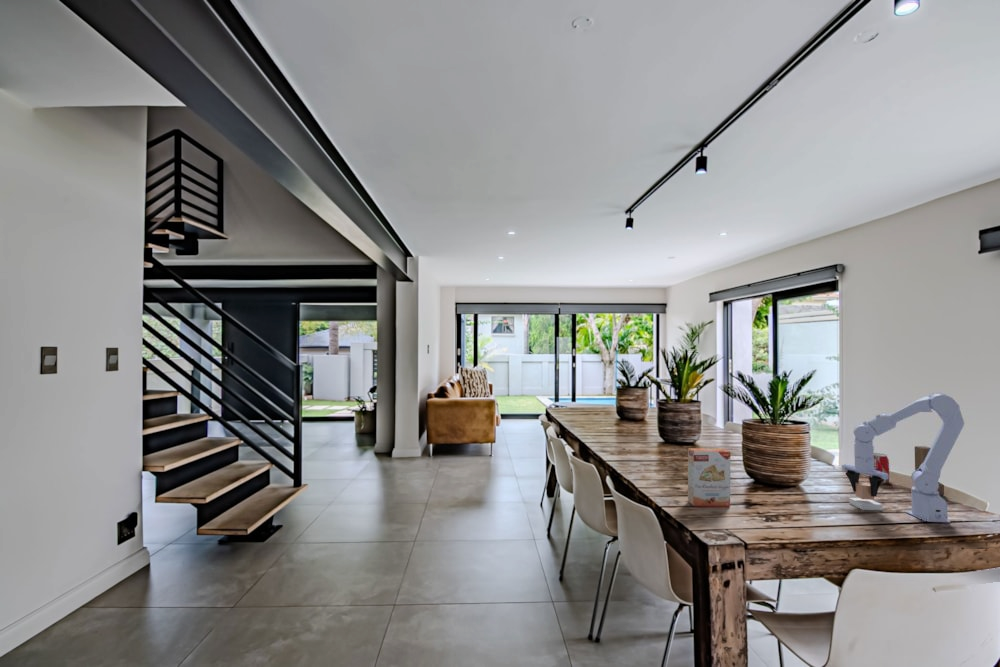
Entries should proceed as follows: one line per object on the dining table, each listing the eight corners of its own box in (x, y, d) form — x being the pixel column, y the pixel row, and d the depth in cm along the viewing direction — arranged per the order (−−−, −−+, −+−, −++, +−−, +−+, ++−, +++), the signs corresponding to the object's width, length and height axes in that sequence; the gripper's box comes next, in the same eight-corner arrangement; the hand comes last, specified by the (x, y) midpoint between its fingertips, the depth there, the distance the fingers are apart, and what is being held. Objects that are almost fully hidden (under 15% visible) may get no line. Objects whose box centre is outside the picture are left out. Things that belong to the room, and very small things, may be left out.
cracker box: (694, 507, 173) (693, 451, 173) (687, 501, 179) (687, 447, 180) (731, 507, 173) (730, 451, 173) (723, 501, 179) (723, 447, 179)
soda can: (890, 484, 201) (889, 457, 201) (869, 481, 205) (868, 454, 206) (889, 481, 207) (888, 454, 207) (868, 478, 211) (868, 451, 211)
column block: (874, 499, 171) (873, 486, 171) (862, 499, 172) (862, 485, 172) (867, 496, 175) (866, 483, 175) (855, 495, 176) (855, 482, 176)
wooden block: (944, 495, 186) (943, 451, 187) (932, 495, 187) (931, 450, 187) (926, 488, 195) (925, 446, 196) (914, 488, 196) (914, 445, 196)
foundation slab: (882, 511, 170) (882, 504, 170) (861, 510, 171) (861, 504, 171) (868, 504, 177) (868, 498, 177) (849, 504, 178) (849, 497, 178)
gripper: (892, 460, 169) (893, 498, 169) (849, 452, 182) (850, 486, 182) (881, 462, 166) (882, 500, 166) (838, 453, 179) (839, 489, 179)
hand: (864, 493), depth 174 cm, fingers closed on column block, 5 cm apart
